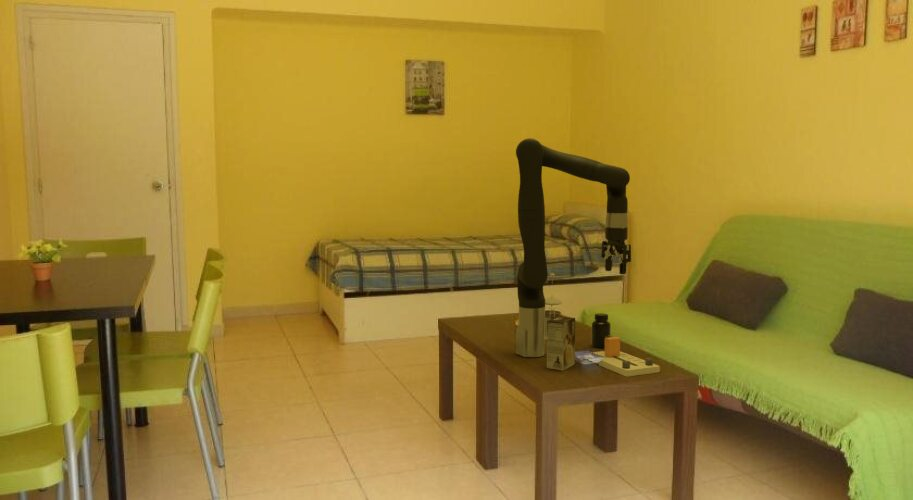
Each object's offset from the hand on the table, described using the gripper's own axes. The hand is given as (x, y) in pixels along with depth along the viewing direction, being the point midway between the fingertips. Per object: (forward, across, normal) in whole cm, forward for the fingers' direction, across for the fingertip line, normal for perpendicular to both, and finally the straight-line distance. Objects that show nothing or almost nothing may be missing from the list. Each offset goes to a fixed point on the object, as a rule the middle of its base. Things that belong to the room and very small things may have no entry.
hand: (615, 272), depth 268 cm
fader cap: (+27, +7, -6) cm, 29 cm away
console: (+29, +12, -5) cm, 32 cm away
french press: (+30, -33, -6) cm, 45 cm away
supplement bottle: (+30, -13, +3) cm, 32 cm away
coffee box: (+30, +6, -24) cm, 39 cm away
